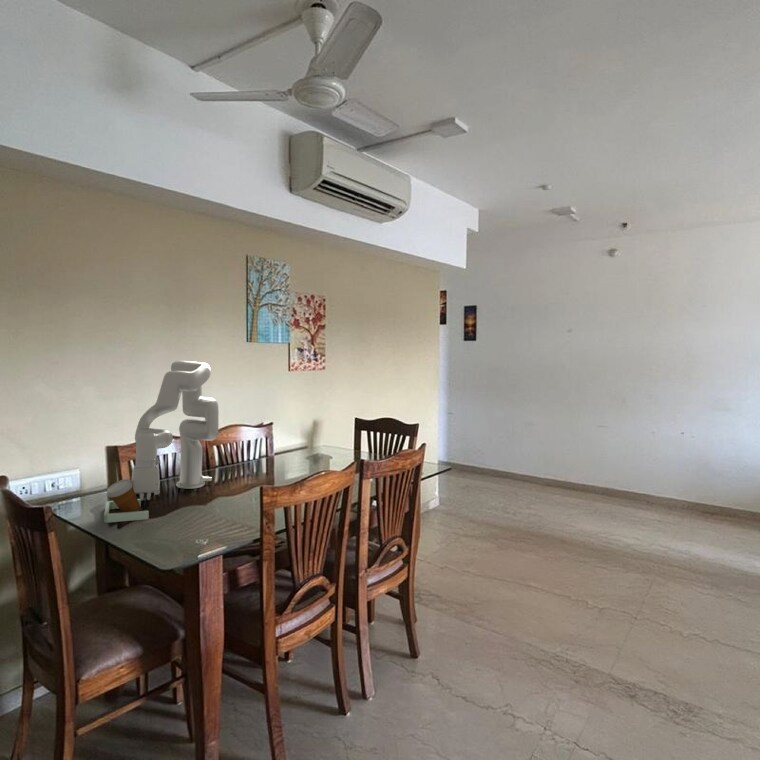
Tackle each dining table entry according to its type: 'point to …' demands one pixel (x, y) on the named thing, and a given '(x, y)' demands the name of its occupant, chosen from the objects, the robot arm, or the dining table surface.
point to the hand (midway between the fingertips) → (144, 509)
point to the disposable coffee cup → (124, 496)
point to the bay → (123, 514)
